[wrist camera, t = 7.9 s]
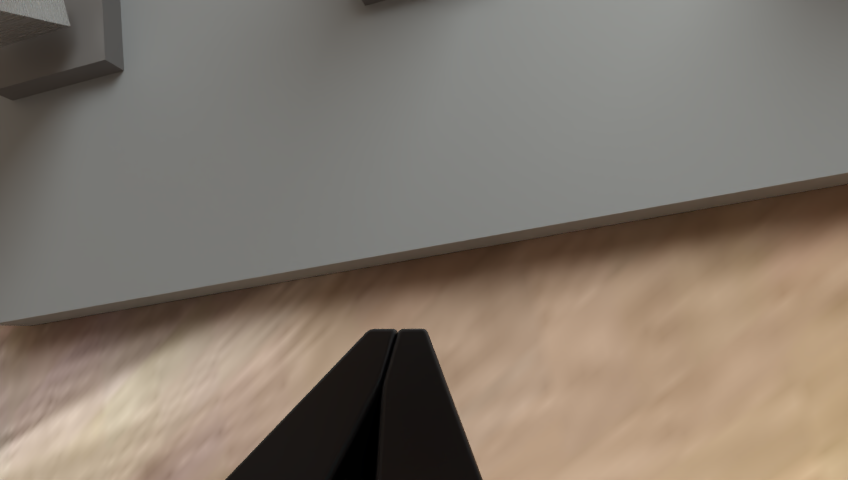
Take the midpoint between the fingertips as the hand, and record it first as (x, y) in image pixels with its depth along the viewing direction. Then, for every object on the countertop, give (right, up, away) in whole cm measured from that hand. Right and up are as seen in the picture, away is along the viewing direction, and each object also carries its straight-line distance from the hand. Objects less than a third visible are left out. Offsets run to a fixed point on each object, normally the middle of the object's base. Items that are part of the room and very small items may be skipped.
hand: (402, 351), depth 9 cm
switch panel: (+2, +8, +14) cm, 16 cm away
